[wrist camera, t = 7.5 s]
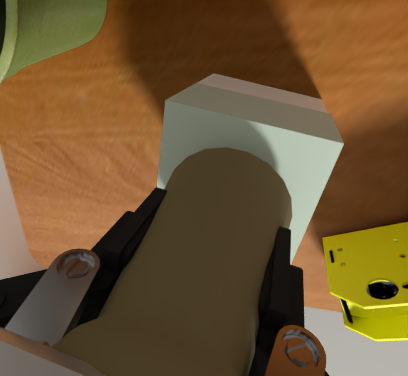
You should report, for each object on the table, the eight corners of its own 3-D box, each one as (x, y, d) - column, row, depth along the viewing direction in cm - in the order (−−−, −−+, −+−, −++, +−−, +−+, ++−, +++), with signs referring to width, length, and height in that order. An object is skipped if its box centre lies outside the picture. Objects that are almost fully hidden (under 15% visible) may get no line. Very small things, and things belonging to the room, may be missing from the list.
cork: (155, 229, 16) (-53, 525, 6) (182, 126, 12) (-159, 418, 3) (261, 275, 15) (205, 672, 6) (318, 179, 12) (396, 720, 3)
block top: (331, 113, 16) (343, 143, 12) (287, 224, 20) (285, 275, 16) (196, 82, 18) (165, 100, 13) (180, 193, 22) (152, 233, 17)
